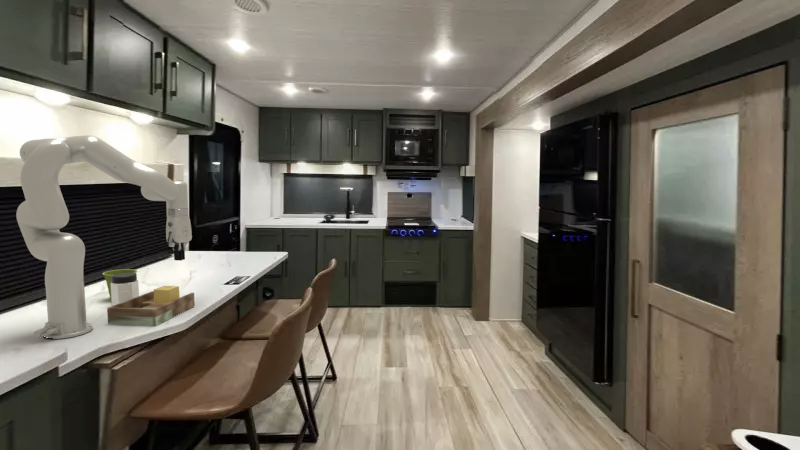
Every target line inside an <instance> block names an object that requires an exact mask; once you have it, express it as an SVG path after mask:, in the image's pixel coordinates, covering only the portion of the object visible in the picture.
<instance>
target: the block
mask: <svg viewBox="0 0 800 450" xmlns="http://www.w3.org/2000/svg"><path fill="white" fill-rule="evenodd" d="M153 291H154V303H169V302H171V301H174V300H176V299H178V298H180V286H178V285H162V286H160V287H158V288H155V289H153Z"/></svg>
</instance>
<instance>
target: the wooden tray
mask: <svg viewBox="0 0 800 450" xmlns="http://www.w3.org/2000/svg"><path fill="white" fill-rule="evenodd" d="M194 306H195V292H190V293H188V294H185V295H183V296H179V298H178V299H176V300H174V301H171V302H169V303H154V290H152V291H150V292H147V293H143V294H141V295H139V296H138V297H135V298H133V299H130V300H127V301H125V302H122V303H119V304H117V305H114V306H112V305H111V306H109V307H107V308H106V309H107V310H106V311H107V325H120V326H122V325H124V326H144V327H148V326H149V327H150V326H151V327H157V326H159V325H162V324H163V323H166V322H167V321H169V320H171V319H173V318H175V317H177V316H179V315H181V314H183V313H185V312H187V311H189V310H191V309H193V308H195V307H194ZM192 307H193V308H192ZM190 308H191V309H190ZM188 309H189V310H188ZM186 310H187V311H186ZM184 311H185V312H184ZM182 312H183V313H182ZM180 313H181V314H180ZM178 314H179V315H178ZM176 315H177V316H176ZM174 316H175V317H174ZM172 317H173V318H172ZM170 318H171V319H170ZM168 319H169V320H168Z"/></svg>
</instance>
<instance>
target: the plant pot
mask: <svg viewBox="0 0 800 450" xmlns="http://www.w3.org/2000/svg"><path fill="white" fill-rule="evenodd" d="M120 273H136V274H137V273H138V270H137V269H131V268H127V269H126V268H125V269H114V270H113V269H112V270H107V271H104V272H102V275H103V276H104V280H105V283H106V286H107V290H108V295H109V299H110V300H111V283H112V275H115V274H120Z"/></svg>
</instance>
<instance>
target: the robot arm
mask: <svg viewBox="0 0 800 450" xmlns="http://www.w3.org/2000/svg"><path fill="white" fill-rule="evenodd" d="M19 156H20V159H21V160H22V161H23V162H24V163H23V165H22V167H21V171H20V176H19V179H20V185H21V189H22V191H23V194H24V199H25V200H24V201H23V202H21V203H20V204H19V206H18V207H17V209H16V221H17V225H18V227H19V229H20V232H21V234H22V237H23V239H24V242H25V245H26V247H27V249H28V251H29V252H30V254H31V255H32V256H33V257H34V258H35V259H38V260H39V261H43V262H46V266H45V273H44V286H45V297H46V308H47V309H46V310H47V322H45V323H44V325H45V326H43V327H42V328H39V329H36V330H34V332H33V334H34V336H35V337H36V338H38V337H41V336H42V335H43V336H45V337H48V338H53V339H52V340H62V339H67V338H68V339H69V338H74V337H78V336H81V335H84V334H87V333H90V332H91V331H92V330H93V329H94V325H93V324H92V323H90V322H87V307H86V294H85V293H86V292H85V291H86V290H85V277H84V264H85V255H86V246H85V244H84V242H83V240H82V239H81V238H80V237H79V236H78V235H76V234H73V233H69V232H63V231H62V232H61V230H60V229H62V228H64V227H66V226H67V224H68V223H69V221H70V213H69V211H68V207H67V205H66V202H65V200H64V197H63V194H62V191H61V187H60V184H59V174H60V172H61V170H62V168H63V167H64V166H66V165H68V164H69V165H70V164H74V163H87V164H89V165H91V166H93V167H94V168H96V169H98V170H100V171H101V172H103V173H104V174H107V175H108V176H110V177H111V178H113V179H114V180H116V181H120V182H123V183H127V184H131V185H136V186H137V187H138V186H139V187H140V193H141V195H142V196H143V198H145V199H146V200H149V201H153V202H166V203H165V204H166V224H165V235H166V236H165V238H166V242H167V244H168V247H170V248H172V250H173V259H174V261H184V260H186V255H185V253H186V251H185V250H186V245H187V244H188V243H189V242H190V241H192V238H193V235H192V233H193V232H192V224H191V219H190V215H189V195H188V194H189V190H188V184H187V182H185V181H180V180H179V181H175V180H172V179H171V178H170V177H168V176H167V175H165V174H163V173H161V172H160V171H158V170H156V169H154V168H152V167H149V166H147V165H145V164H143V163H141V162H139V161H136V160H133V159H132V158H130V157H129V156H127V155H125V154H124V153H123V152H121V151H119V150H118V149H116V148H115V147H113V146H112V145H111V144H109V143H107V142H106V141H104V140H103V139H101V138H100V137H97V136H94V135H87V134H86V135H75V136H68V137H67V136H66V137H58V138H57V137H56V138H42V139H41V138H40V139H32V140H28V141H26V142H25V143H23V144H21V147H20V149H19ZM43 336H42V337H43Z"/></svg>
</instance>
